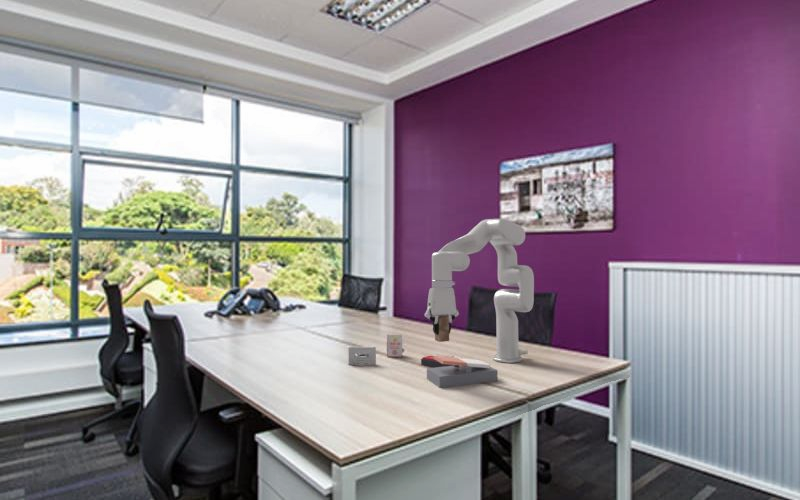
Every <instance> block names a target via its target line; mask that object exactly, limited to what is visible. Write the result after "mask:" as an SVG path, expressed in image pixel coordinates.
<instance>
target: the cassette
mask: <svg viewBox="0 0 800 500" xmlns="http://www.w3.org/2000/svg"><path fill="white" fill-rule="evenodd" d="M376 348H377V347H375V346H349V347H348V350H347V351H348V365H349V366H350V365H353V366H376V364H377V354H376V353H377V349H376ZM362 354H363V355H362Z"/></svg>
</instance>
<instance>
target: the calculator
mask: <svg viewBox="0 0 800 500" xmlns="http://www.w3.org/2000/svg"><path fill="white" fill-rule="evenodd" d="M434 356H441V357H452V358H463V357H461V356H454V355H449V354H443V353H434V354H431V355H427V356H422V358H420V363H421V366H425V367H428V368H436V367H445V366H453V365H448V364H442V363H440V362H438V361H437V360H435V359H434Z"/></svg>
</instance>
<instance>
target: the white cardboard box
mask: <svg viewBox="0 0 800 500" xmlns="http://www.w3.org/2000/svg"><path fill="white" fill-rule="evenodd" d="M386 336H387V337H386V357H387V358H402V357H403V336H402V334H387V335H386Z"/></svg>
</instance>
